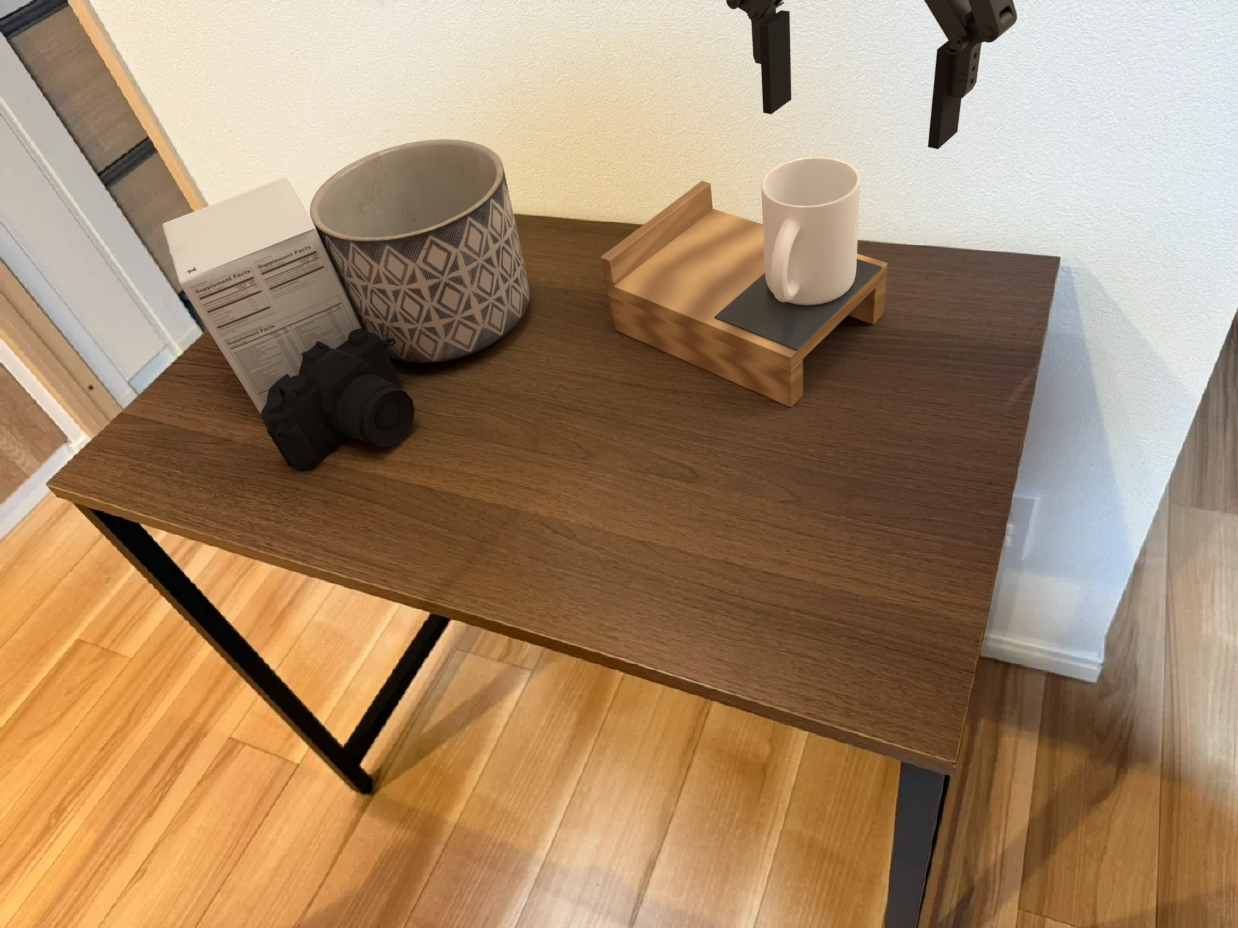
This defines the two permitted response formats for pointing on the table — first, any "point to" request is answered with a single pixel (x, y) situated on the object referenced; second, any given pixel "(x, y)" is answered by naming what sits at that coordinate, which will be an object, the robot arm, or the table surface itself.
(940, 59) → the robot arm
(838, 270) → the mug
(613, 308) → the shelf
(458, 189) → the planter
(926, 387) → the table surface
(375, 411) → the film camera
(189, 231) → the supplement box
